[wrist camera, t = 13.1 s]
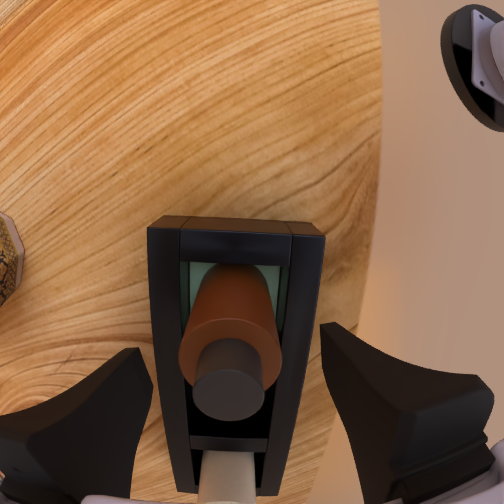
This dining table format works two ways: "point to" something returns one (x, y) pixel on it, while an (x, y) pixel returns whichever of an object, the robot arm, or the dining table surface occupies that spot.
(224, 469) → the cream bottle
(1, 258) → the ceramic cup
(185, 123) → the dining table surface
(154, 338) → the holder
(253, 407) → the spice bottle
